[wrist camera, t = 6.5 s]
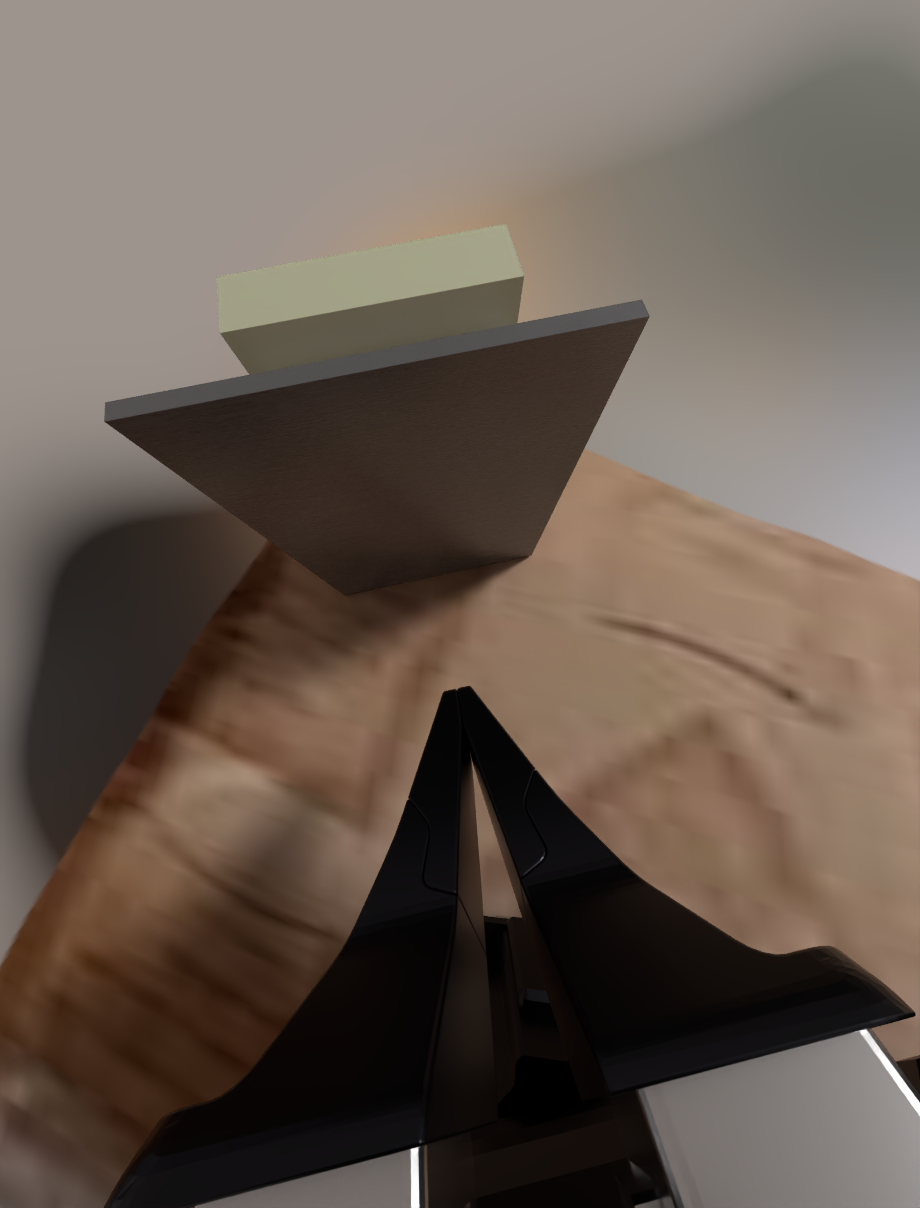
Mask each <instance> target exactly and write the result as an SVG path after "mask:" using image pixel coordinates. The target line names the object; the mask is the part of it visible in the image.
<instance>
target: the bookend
mask: <svg viewBox="0 0 920 1208" xmlns="http://www.w3.org/2000/svg"><path fill="white" fill-rule="evenodd" d="M648 318H649V314H648V312H647V309H646V307H645V305H644V304H643V301H642V300H637V301H632V302H627V303H622V304H617V305H612V306H606V307H601V308H596V309H590V310H585V311H581V312H575V313H570V314H564V315H560V316H554V317H549V318H544V319H538V320H533V321H528V322H523V323H517V324H512V325H507V326H502V327H497V328H491V329H486V330H481V331H476V332H471V333H465V334H460V335H455V336H450V337H444V338H439V339H434V340H429V341H424V342H418V343H413V344H408V345H403V346H398V347H392V348H387V349H382V350H377V351H371V352H366V353H361V354H356V355H351V356H345V357H340V358H335V359H330V360H324V361H319V362H314V363H309V364H304V365H298V366H293V367H288V368H283V369H278V370H272V371H267V372H262V373H257V374H251V375H246V376H241V377H236V378H231V379H226V380H220V381H215V382H211V383H205V384H199V385H194V386H189V387H184V388H179V389H174V390H168V391H163V392H158V393H152V394H147V395H143V396H138V397H132V398H126V399H122V400H116V401H111V402H106V403H105V419H104V421H105V422H106V423H107V424H109V425H110V426H111V427H113V428H114V429H115V430H117V431H118V432H120V433H121V434H123V435H124V436H125V437H126V438H128V439H129V440H131V441H132V442H133V443H135V444H136V445H138V446H139V447H140V448H142V449H143V450H145V451H146V452H147V453H149V454H150V455H152V456H153V457H154V458H156V459H157V460H158V461H160V462H161V463H162V464H164V465H165V466H167V467H168V468H169V469H171V470H172V471H174V472H175V473H176V474H178V475H179V476H180V477H182V478H183V479H185V480H186V481H187V482H189V483H190V484H191V485H193V486H194V487H196V488H197V489H198V490H200V491H201V492H203V493H204V494H205V495H207V496H208V497H210V498H211V499H212V500H214V501H215V502H217V503H218V504H219V505H221V506H222V507H223V508H225V509H226V510H227V511H229V512H230V513H232V514H233V515H234V516H236V517H237V518H239V519H240V520H241V521H243V522H244V523H245V524H247V525H248V526H250V527H251V528H252V529H254V530H255V531H257V532H258V533H259V534H261V535H262V536H264V537H265V538H266V539H268V540H269V541H270V542H272V543H273V544H275V545H276V546H277V547H279V548H280V549H281V550H283V551H284V552H286V553H287V554H288V555H290V556H291V557H293V558H294V559H295V560H297V561H298V562H299V563H301V564H302V565H304V566H305V567H306V568H308V569H309V570H310V571H312V572H313V573H315V574H316V575H317V576H319V577H320V578H322V579H323V580H324V581H326V582H327V583H328V584H330V585H331V586H333V587H334V588H335V589H337V590H338V591H340V592H341V593H342V594H344V595H347V594H352V593H356V592H361V591H366V590H371V589H375V588H380V587H385V586H389V585H394V584H399V583H404V582H408V581H413V580H418V579H422V578H427V577H432V576H436V575H441V574H446V573H451V572H455V571H460V570H465V569H469V568H474V567H479V566H484V565H488V564H493V563H498V562H502V561H507V560H512V559H516V558H521V557H526V556H531V555H532V553H533V551H534V549H535V547H536V545H537V543H538V541H539V539H540V537H541V535H542V533H543V531H544V529H545V527H546V525H547V523H548V521H549V519H550V517H551V515H552V513H553V510H554V508H555V506H556V504H557V502H558V500H559V498H560V496H561V494H562V492H563V490H564V488H565V486H566V484H567V482H568V480H569V478H570V476H571V474H572V472H573V470H574V468H575V466H576V464H577V462H578V460H579V458H580V456H581V454H582V452H583V450H584V448H585V446H586V444H587V442H588V440H589V438H590V436H591V434H592V432H593V429H594V427H595V426H596V424H597V422H598V420H599V418H600V415H601V413H602V411H603V409H604V407H605V405H606V403H607V401H608V399H609V397H610V395H611V393H612V391H613V389H614V387H615V385H616V383H617V381H618V379H619V377H620V375H621V373H622V371H623V369H624V367H625V365H626V363H627V361H628V359H629V357H630V355H631V353H632V351H633V349H634V347H635V344H636V343H637V341H638V339H639V337H640V334H641V333H642V331H643V329H644V327H645V325H646V322H647V320H648Z"/></svg>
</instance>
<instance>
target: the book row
mask: <svg viewBox="0 0 920 1208" xmlns="http://www.w3.org/2000/svg"><path fill="white" fill-rule="evenodd" d="M523 278H524V275H523V272H522V269H521V266H520V264H519V261H518V258H517V255H516V252H515V249H514V246H513V243H512V240H511V237H510V234H509V232H508V229H507V226H506V224H503V225H497V226H492V227H486V228H481V229H476V230H470V231H464V232H459V233H453V234H449V235H443V236H437V237H432V238H427V239H421V240H416V241H410V242H404V243H399V244H393V245H388V246H382V247H377V248H372V249H366V250H361V251H355V252H349V253H344V254H338V255H333V256H328V257H323V258H317V259H312V260H306V261H300V262H295V263H289V264H284V265H278V266H273V267H267V268H262V269H256V270H251V271H245V272H240V273H235V274H229V275H224V276H218V277H216V281H217V295H218V311H219V326H220V334H221V335H222V337H223V338H224V339H225V341H226V342H227V344H228V345H229V346H230V348H231V349H232V351H233V352H234V353H235V355H236V356H237V358H238V359H239V360H240V362H241V363H242V364H243V366H244V367H245V369H246V370H247V372H248V373H249V374H250V375H251V374H257V373H262V372H267V371H272V370H278V369H283V368H288V367H293V366H298V365H304V364H309V363H314V362H319V361H324V360H330V359H335V358H340V357H345V356H351V355H356V354H361V353H366V352H371V351H377V350H382V349H387V348H392V347H398V346H403V345H408V344H413V343H418V342H424V341H429V340H434V339H439V338H444V337H450V336H455V335H460V334H465V333H471V332H476V331H481V330H486V329H491V328H497V327H502V326H507V325H512V324H517V320H518V314H519V307H520V300H521V293H522V286H523Z"/></svg>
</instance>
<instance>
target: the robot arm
mask: <svg viewBox="0 0 920 1208" xmlns="http://www.w3.org/2000/svg"><path fill="white" fill-rule="evenodd" d="M471 758H472V760H471ZM472 762H473V765H474V769H475V772H476V775H477V778H478V781H479V784H480V787H481V790H482V794H483V797H484V800H485V803H486V806H487V809H488V812H489V815H490V818H491V822H492V825H493V828H494V831H495V834H496V837H497V840H498V843H499V846H500V849H501V853H502V856H503V859H504V862H505V865H506V868H507V871H508V874H509V877H510V881H511V884H512V887H513V890H514V893H515V896H516V899H517V902H518V905H519V908H520V912H521V915H522V918H518V917H511V918H510V919H503V918H496V917H488V916H483V903H482V890H481V876H480V863H479V850H478V836H477V823H476V809H475V796H474V783H473V769H472ZM408 798H409V800H407V802H406V805H405V808H404V811H403V814H402V817H401V820H400V822H399V825H398V828H397V831H396V833H395V836H394V839H393V841H392V843H391V846H390V848H389V850H388V853H387V855H386V857H385V860H384V862H383V864H382V866H381V869H380V871H379V873H378V875H377V878H376V880H375V882H374V884H373V886H372V889H371V891H370V893H369V895H368V897H367V900H366V902H365V904H364V906H363V909H362V911H361V913H360V915H359V917H358V920H357V922H356V924H355V926H354V928H353V930H352V932H351V934H350V936H349V938H348V940H347V941H346V943H345V945H344V946H343V948H342V950H341V951H340V953H339V954H338V956H337V957H336V959H335V960H334V962H333V963H332V964H331V966H330V967H329V968H328V970H327V971H326V972H325V974H324V975H323V976H322V977H321V979H320V980H319V981H318V983H317V984H316V985H315V987H314V988H313V989H312V991H311V992H310V993H309V995H308V996H307V997H306V999H305V1000H304V1001H303V1003H302V1004H301V1005H300V1006H299V1008H298V1009H297V1010H296V1012H295V1013H294V1014H293V1016H292V1017H291V1018H290V1020H289V1021H288V1022H287V1024H286V1025H285V1026H284V1028H283V1029H282V1030H281V1032H280V1033H279V1034H278V1035H277V1037H276V1038H275V1039H274V1041H273V1042H272V1043H271V1045H270V1046H269V1047H268V1049H267V1050H266V1051H265V1053H264V1054H263V1055H262V1057H261V1058H260V1059H259V1060H258V1062H257V1063H256V1064H255V1065H254V1066H253V1067H252V1069H251V1070H250V1071H249V1072H248V1073H247V1074H246V1075H245V1076H244V1077H243V1078H242V1079H241V1080H240V1081H239V1082H238V1083H237V1084H236V1085H235V1086H234V1087H232V1088H231V1089H229V1090H228V1091H227V1092H225V1093H224V1094H223V1095H221V1096H219V1097H217V1098H215V1099H213V1100H210V1101H206V1102H202V1103H198V1104H194V1105H190V1106H187V1107H183V1108H180V1109H177V1110H174V1111H172V1112H170V1113H168V1114H166V1115H164V1116H163V1117H162V1118H161V1119H160V1120H159V1122H158V1123H157V1124H156V1126H155V1127H154V1129H153V1130H152V1132H151V1133H150V1134H149V1136H148V1137H147V1139H146V1140H145V1142H144V1143H143V1145H142V1146H141V1148H140V1149H139V1150H138V1152H137V1153H136V1155H135V1156H134V1158H133V1159H132V1161H131V1163H130V1164H129V1166H128V1167H127V1169H126V1170H125V1172H124V1173H123V1174H122V1176H121V1178H120V1179H119V1181H118V1183H117V1185H116V1186H115V1188H114V1190H113V1191H112V1193H111V1195H110V1196H109V1199H108V1201H107V1203H106V1204H105V1206H104V1208H190V1207H194V1206H195V1208H920V1055H919V1056H915V1057H911V1058H907V1059H904V1060H900V1061H895V1060H894V1059H893V1057H892V1056H891V1055H890V1053H889V1052H888V1051H887V1049H886V1048H885V1046H884V1045H883V1044H882V1042H881V1041H880V1040H879V1038H878V1037H877V1036H876V1034H875V1033H874V1032H873V1030H872V1029H871V1028H873V1027H877V1026H881V1025H885V1024H888V1023H892V1022H896V1021H900V1020H903V1019H907V1018H910V1017H914V1016H915V1012H914V1011H913V1010H912V1009H911V1008H910V1007H909V1006H908V1005H907V1004H906V1003H905V1002H904V1001H903V1000H902V999H901V998H900V997H899V996H898V995H897V994H896V993H895V992H893V991H892V990H891V989H890V988H889V987H887V986H886V985H885V984H884V983H883V982H881V981H880V980H879V979H877V978H876V977H875V976H873V975H872V974H871V973H869V972H868V971H867V970H865V969H864V968H863V967H861V966H860V965H859V964H857V963H856V962H855V961H853V960H852V959H850V958H849V957H848V956H847V955H845V954H844V953H843V952H841V951H840V950H838V949H837V948H835V947H832V946H818V947H812V948H808V949H803V950H799V951H795V952H791V953H787V954H776V955H775V954H770V953H765V952H761V951H758V950H756V949H753V948H751V947H748V946H746V945H744V944H743V943H741V942H739V941H737V940H735V939H734V938H732V937H731V936H729V935H728V934H726V933H725V932H723V931H721V930H720V929H718V928H717V927H715V926H714V925H712V924H711V923H709V922H708V921H706V920H704V919H703V918H701V917H700V916H698V915H697V914H695V913H694V912H692V911H690V910H689V909H687V908H686V907H684V906H683V905H681V904H680V903H678V902H676V901H675V900H673V899H672V898H670V897H669V896H667V895H666V894H664V893H663V892H661V891H659V890H658V889H656V888H655V887H653V886H652V885H650V884H649V883H647V882H646V881H644V880H643V879H642V878H641V877H639V876H638V875H637V874H636V873H634V872H633V871H632V870H631V869H630V868H629V867H628V866H626V865H625V864H624V863H623V862H622V861H621V860H620V859H619V858H618V857H617V856H616V855H615V854H614V853H613V852H612V851H611V850H610V849H609V848H608V847H607V846H606V845H605V844H604V843H603V842H602V841H601V840H600V839H599V838H598V837H597V836H596V835H595V834H594V833H593V832H592V831H591V830H590V829H589V828H588V827H587V826H586V825H585V824H584V823H583V822H582V821H581V820H580V819H579V818H578V817H577V816H576V815H575V814H574V813H573V812H572V811H571V810H570V808H569V807H568V806H567V805H566V804H565V803H564V802H563V801H562V800H561V799H560V798H559V797H558V796H557V794H556V793H555V792H554V791H553V790H552V788H551V787H550V786H549V785H548V784H547V782H546V781H545V780H544V779H543V777H542V776H541V775H540V774H539V772H538V771H537V770H535V767H534V766H533V765H532V764H531V762H530V761H529V760H528V759H527V757H526V756H525V755H524V753H523V752H522V751H521V750H520V748H519V747H518V746H517V745H516V743H515V742H514V741H513V739H512V738H511V737H510V736H509V734H508V733H507V732H506V731H505V729H504V728H503V727H502V725H501V724H500V723H499V722H498V720H497V719H496V718H495V717H494V715H493V714H492V713H491V711H490V710H489V709H488V708H487V706H486V705H485V704H484V703H483V701H482V700H481V699H480V698H479V696H478V695H477V694H476V692H475V691H474V690H473V689H472V687H470V686H466V687H461V688H458V690H456V689H452V690H448V691H444V692H443V694H442V697H441V700H440V703H439V706H438V709H437V712H436V715H435V718H434V721H433V724H432V727H431V730H430V733H429V736H428V739H427V742H426V745H425V748H424V751H423V754H422V757H421V760H420V763H419V766H418V769H417V772H416V775H415V778H414V781H413V784H412V787H411V790H410V793H409V796H408Z"/></svg>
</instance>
